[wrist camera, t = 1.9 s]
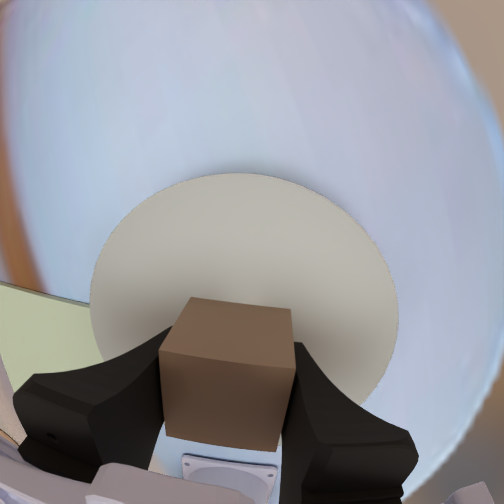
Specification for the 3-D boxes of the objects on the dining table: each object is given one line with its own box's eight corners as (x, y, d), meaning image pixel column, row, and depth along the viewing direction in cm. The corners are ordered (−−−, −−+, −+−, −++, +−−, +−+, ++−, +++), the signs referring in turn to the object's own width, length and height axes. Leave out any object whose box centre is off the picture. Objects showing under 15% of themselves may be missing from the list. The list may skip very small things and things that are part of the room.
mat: (139, 447, 22) (137, 451, 22) (21, 402, 23) (19, 404, 22) (117, 310, 18) (114, 313, 18) (-15, 277, 19) (-19, 278, 19)
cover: (348, 443, 15) (361, 507, 11) (115, 411, 16) (83, 466, 11) (422, 198, 12) (489, 219, 7) (94, 165, 12) (19, 171, 8)
